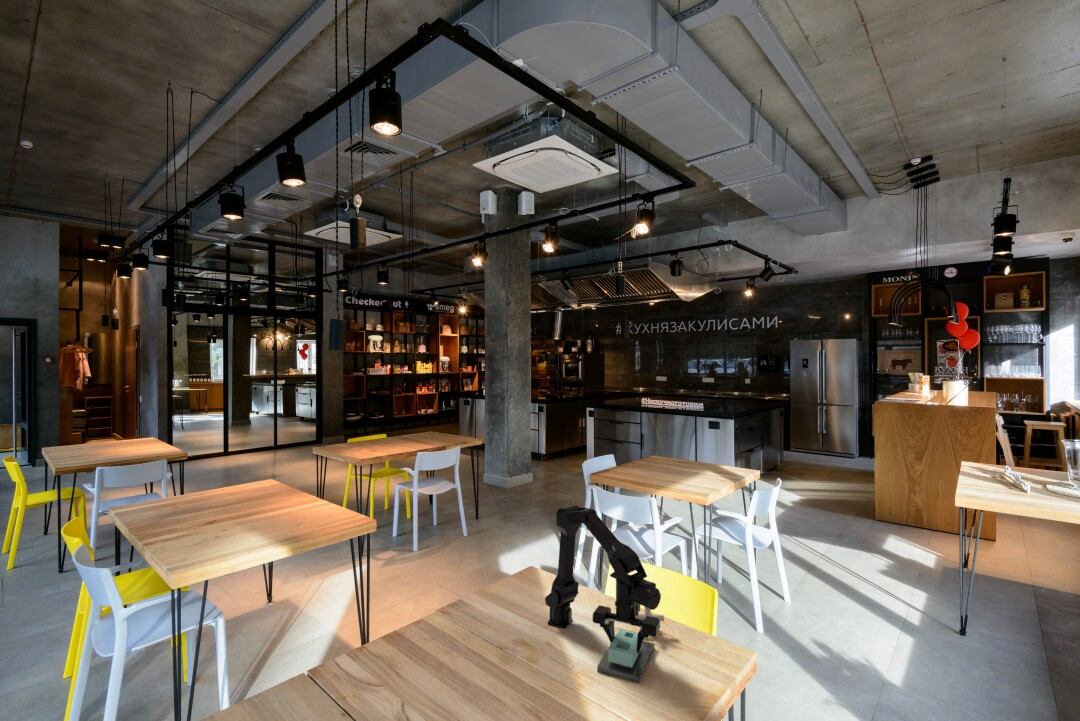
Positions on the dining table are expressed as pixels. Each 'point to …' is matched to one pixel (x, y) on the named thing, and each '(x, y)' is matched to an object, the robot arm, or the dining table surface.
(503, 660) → the dining table surface
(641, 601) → the robot arm
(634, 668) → the post base
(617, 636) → the teal hollow block
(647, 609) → the pipe connector
